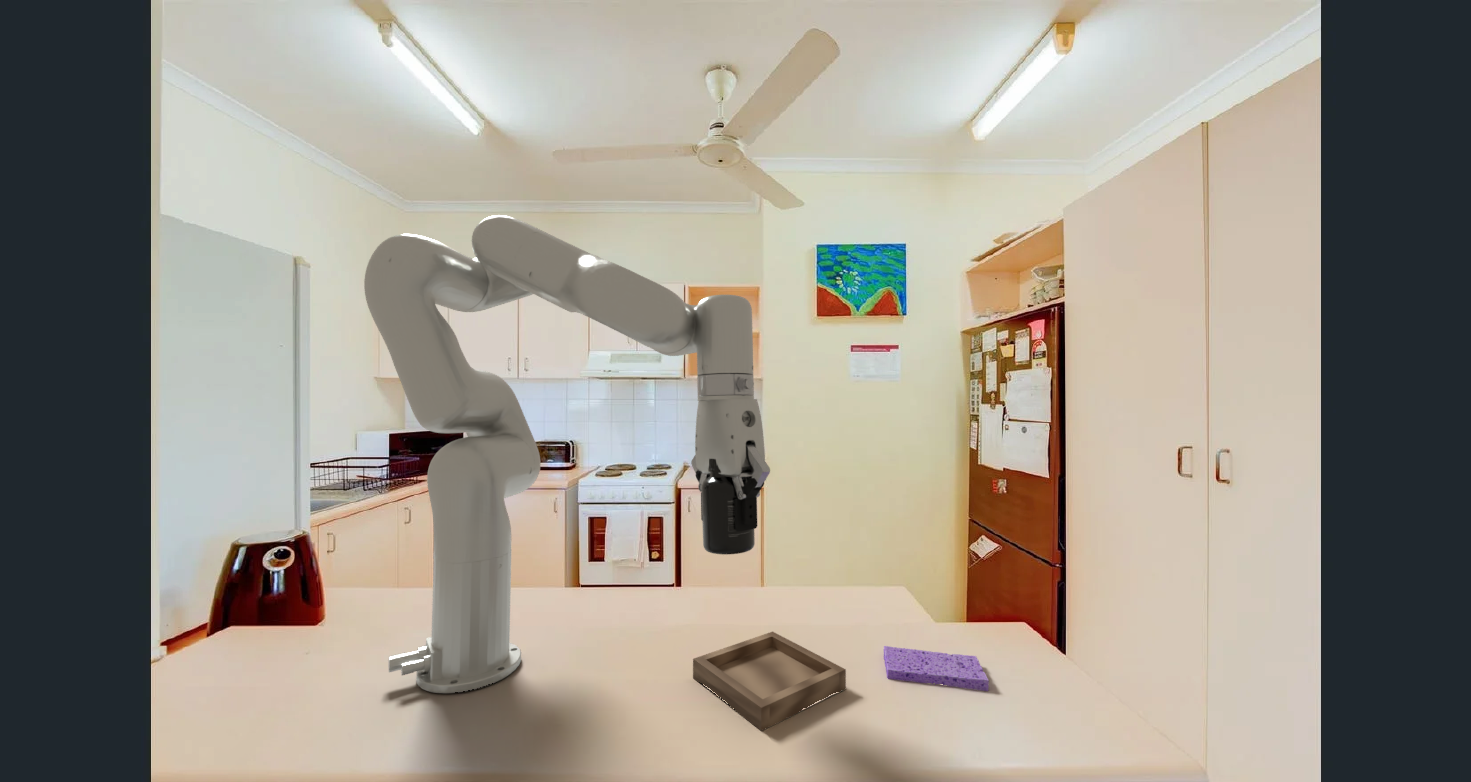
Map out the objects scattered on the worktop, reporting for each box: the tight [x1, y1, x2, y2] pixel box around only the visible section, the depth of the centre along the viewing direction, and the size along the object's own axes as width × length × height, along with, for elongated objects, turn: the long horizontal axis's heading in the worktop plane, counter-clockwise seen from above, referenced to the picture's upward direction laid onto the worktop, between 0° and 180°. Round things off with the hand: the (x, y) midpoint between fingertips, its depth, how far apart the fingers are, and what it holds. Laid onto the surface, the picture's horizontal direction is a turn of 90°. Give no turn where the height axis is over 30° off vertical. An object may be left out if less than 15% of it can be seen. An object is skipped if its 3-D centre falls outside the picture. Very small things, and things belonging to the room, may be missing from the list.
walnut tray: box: [692, 631, 847, 732], centre depth 66 cm, size 14×14×2 cm
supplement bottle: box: [701, 459, 756, 556], centre depth 67 cm, size 7×7×12 cm
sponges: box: [883, 645, 990, 692], centre depth 69 cm, size 7×13×2 cm, turn 76°
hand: (728, 523), depth 67 cm, fingers closed on supplement bottle, 6 cm apart
